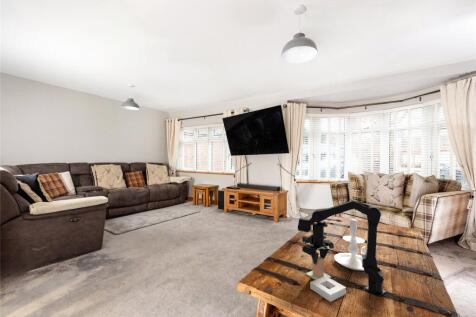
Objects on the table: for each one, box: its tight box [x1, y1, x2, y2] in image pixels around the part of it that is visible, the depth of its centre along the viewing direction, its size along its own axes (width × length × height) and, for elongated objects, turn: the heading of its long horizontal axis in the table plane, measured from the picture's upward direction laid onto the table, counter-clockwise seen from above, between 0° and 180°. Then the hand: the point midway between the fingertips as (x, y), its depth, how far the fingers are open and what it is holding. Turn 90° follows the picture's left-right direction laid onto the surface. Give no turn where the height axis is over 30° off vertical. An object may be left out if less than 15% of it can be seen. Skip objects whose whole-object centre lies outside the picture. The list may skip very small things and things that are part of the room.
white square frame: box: [309, 276, 347, 303], centre depth 98 cm, size 11×11×3 cm
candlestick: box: [333, 217, 367, 271], centre depth 123 cm, size 21×25×28 cm
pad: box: [305, 270, 332, 280], centre depth 111 cm, size 9×9×1 cm
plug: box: [311, 255, 325, 278], centre depth 111 cm, size 4×4×9 cm
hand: (318, 263), depth 111 cm, fingers open, 5 cm apart
